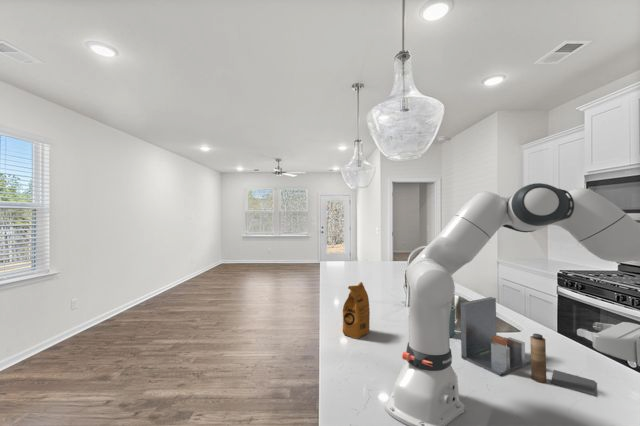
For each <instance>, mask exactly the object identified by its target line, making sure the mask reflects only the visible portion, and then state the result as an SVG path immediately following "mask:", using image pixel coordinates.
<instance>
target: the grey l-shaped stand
mask: <svg viewBox="0 0 640 426" xmlns="http://www.w3.org/2000/svg"><path fill="white" fill-rule="evenodd" d="M494 336H497V299H496V297H493V296H492V297H491V296H490V297H484V298H479V299H475V300H469V301H464V302H460V344H461V345H460V346H461V349H460V350H461V353H460V355H461V359H463V360H465V361H467V362H469V363H471V364H473V365H475V366H477V367H480V368H481V369H484V370H487V371H489V372H490V373H492V374H495V375H497V376H499V377H501V376H503V375H506V374H509V373H511V372H513V371H516V370H519V369H521V368H522V367H526V366H528V365H531V359H528V358H526V343H525V341H522V340H519V339H516V338H512V337H511V336H510V337H506V346H504V345H501V344H498V343H496V342H493V343H492V337H494Z"/></svg>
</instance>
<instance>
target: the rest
mask: <svg viewBox="0 0 640 426" xmlns="http://www.w3.org/2000/svg"><path fill="white" fill-rule="evenodd" d="M552 370H553V372H552V375H551V378H550V379H551V381H550V384H551V385H552V384H553V385H556V386H560V387H562V388H566V389H568V390H572V391H575V392H578V393H583V394H586V395H589V396H593V397H597V395H596V381H595V380H593V379H589V378H586V377H583V376H578V375H574V374H571V373H567V372H564V371H560V370H556V369H552Z"/></svg>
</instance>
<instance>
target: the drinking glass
mask: <svg viewBox="0 0 640 426" xmlns="http://www.w3.org/2000/svg"><path fill="white" fill-rule="evenodd" d="M455 328H456V307H455V306H454V305H452V307H451V313H450V320H449V338H452V337H451V336H453V337H455V334H456V333H455V332H456V331H455Z"/></svg>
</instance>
